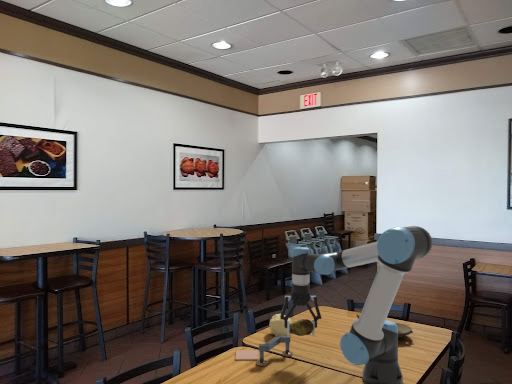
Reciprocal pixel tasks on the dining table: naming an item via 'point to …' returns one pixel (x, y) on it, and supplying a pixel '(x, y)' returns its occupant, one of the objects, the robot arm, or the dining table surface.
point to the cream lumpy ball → (278, 325)
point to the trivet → (246, 355)
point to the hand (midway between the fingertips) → (300, 335)
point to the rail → (272, 344)
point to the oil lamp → (400, 329)
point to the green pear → (301, 327)
